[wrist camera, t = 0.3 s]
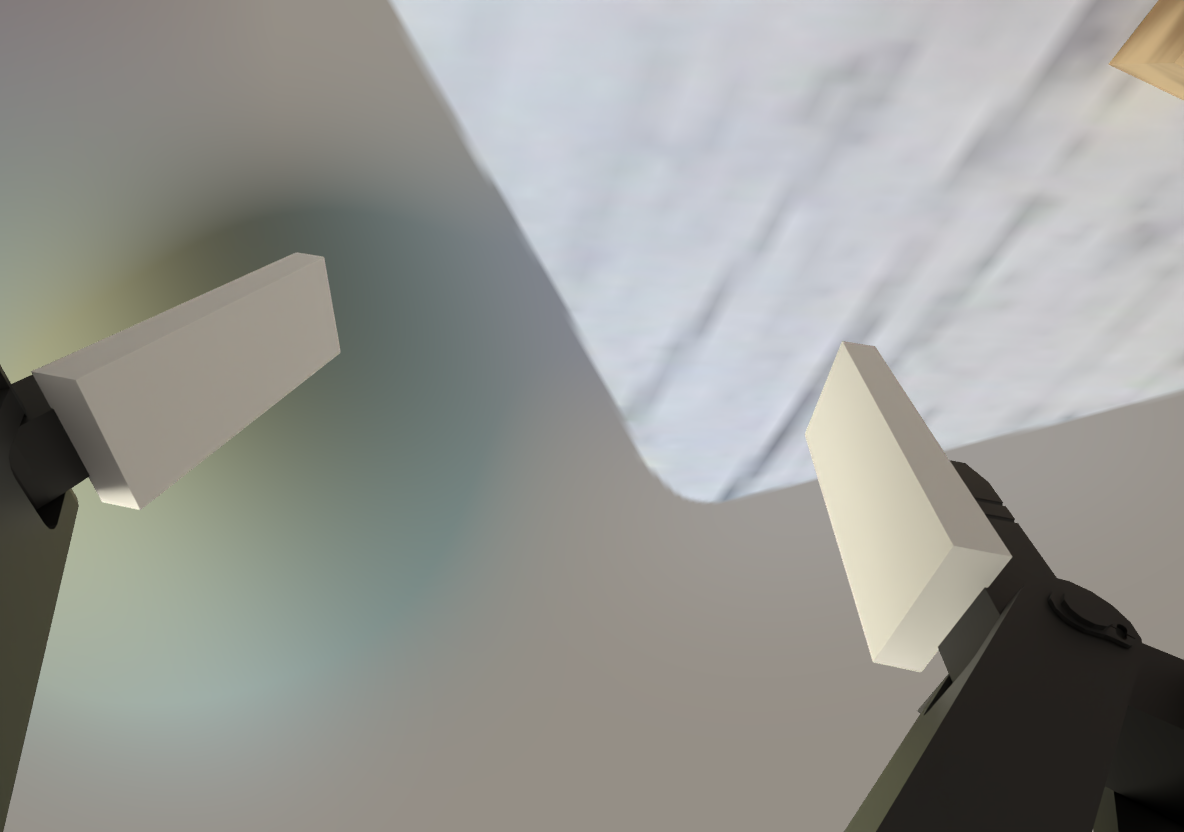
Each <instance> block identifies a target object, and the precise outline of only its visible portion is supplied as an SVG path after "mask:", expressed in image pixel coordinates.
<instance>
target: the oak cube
mask: <svg viewBox="0 0 1184 832" xmlns="http://www.w3.org/2000/svg"><path fill="white" fill-rule="evenodd" d="M1109 65H1111V66H1113V67H1115V68H1117V69H1119V70H1122V71H1124V72H1126V73H1128V74H1130V75H1132V76H1134V77H1136V78H1138V79H1140V80H1142V81H1144V82H1146V83H1149V84H1151V85H1153V86H1155V87H1157V88H1159V89H1161V90H1163V91H1165V92H1167V93H1169V94H1171V95H1173V96H1176V97H1178V98H1180V99H1182V100H1184V0H1159V1H1158V2H1157V3H1156V4H1155V6H1154V7H1153V8H1152V10H1151V11H1150V12H1149V13H1148V15H1147V16H1146V17H1145V18H1144V20H1143V21H1142V22H1141V24H1140V25H1139V26H1138V27H1137V29H1136V30H1135V31H1134V32H1133V34H1132V35H1131V36H1130V38H1129V39H1128V40H1127V41H1126V43H1125V44H1124V45H1123V46H1122V48H1121V49H1120V50H1119V52H1118V53H1117V54H1116V55H1115V57H1114V58H1113V59H1112V61H1111V62H1110V63H1109Z"/></svg>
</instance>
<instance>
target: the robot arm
mask: <svg viewBox="0 0 1184 832" xmlns="http://www.w3.org/2000/svg"><path fill="white" fill-rule="evenodd" d="M339 353H340V346H339V340H338V334H337V329H336V323H335V317H334V311H333V306H332V300H331V294H330V288H329V283H328V277H327V271H326V265H325V261H324V257H321V256H315V255H309V254H302V253H297V252H296V253H294V254H292V255H289V256H287V257H285V258H283V259H281V260H278V261H276V262H274V263H272V264H269V265H267V266H265V267H263V268H261V269H258V270H256V271H254V272H251V273H249V274H247V275H245V276H243V277H240V278H238V279H236V280H234V281H231V282H229V283H227V284H225V285H223V286H220V287H218V288H216V289H214V290H211V291H209V292H207V293H205V294H203V295H201V296H198V297H196V298H194V299H191V300H190V301H187V302H185V303H183V304H180V305H178V306H176V307H174V308H171V309H169V310H167V311H165V312H162V313H160V314H158V315H156V316H154V317H151V318H149V319H147V320H145V321H142V322H140V323H138V324H136V325H133V326H132V327H129V328H127V329H125V330H122V331H120V332H118V333H116V334H114V335H111V336H109V337H107V338H105V339H102V340H100V341H98V342H96V343H93V344H91V345H89V346H87V347H84V348H82V349H80V350H78V351H76V352H73V353H71V354H69V355H67V356H65V357H62V358H60V359H58V360H56V361H53V362H51V363H49V364H47V365H45V366H42V367H41V368H38V369H35V370H33V371H31V372H32V374H33V375H31V376H28V377H26V378H24V379H22V380H20V381H17V382H15V383H13V384H11V383H10V381H9V380H8V378H7V376H6V374H5V372H4V371H3V369H2V367H1V365H0V832H3V830H4V826H5V822H6V817H7V813H8V808H9V804H10V800H11V796H12V791H13V787H14V783H15V778H16V774H17V770H18V765H19V761H20V757H21V753H22V748H23V744H24V739H25V735H26V731H27V726H28V722H29V718H30V713H31V709H32V705H33V700H34V696H35V692H36V687H37V683H38V679H39V675H40V670H41V666H42V662H43V658H44V653H45V649H46V644H47V640H48V636H49V632H50V627H51V623H52V619H53V614H54V610H55V606H56V601H57V597H58V593H59V588H60V584H61V580H62V575H63V571H64V566H65V562H66V558H67V554H68V550H69V545H70V541H71V537H72V532H73V528H74V524H75V519H76V515H77V511H78V500H77V497H76V495H75V494H74V492H73V490H72V489H71V488H72V487H74V486H75V485H77V484H78V483H80V482H81V481H83V480H84V479H86V478H87V477H89V479H90V481H91V482H92V484H93V486H94V488H95V490H96V492H97V493H98V495H99V497H100V499H101V500H102V502H105V503H109V504H114V505H119V506H124V507H128V508H133V509H138V510H141V509H142V508H143V507H145V506H146V505H147V504H148V503H150V502H151V501H152V500H153V499H155V498H156V497H157V496H159V495H160V494H161V493H163V492H164V491H165V490H166V489H168V488H169V487H170V486H171V485H173V484H174V483H175V482H176V481H178V480H179V479H180V478H181V477H183V476H184V475H185V474H187V473H188V472H189V471H190V470H192V469H193V468H194V467H196V466H197V465H198V464H199V463H201V462H202V461H203V460H204V459H206V458H207V457H208V456H210V455H211V454H212V453H213V452H215V451H216V450H217V449H218V448H220V447H221V446H222V445H223V444H225V443H226V442H227V441H229V440H230V439H231V438H232V437H234V436H235V435H236V434H238V433H239V432H240V431H241V430H242V429H244V428H245V427H246V426H248V425H249V424H250V423H252V422H253V421H254V420H255V419H257V418H258V417H259V416H260V415H262V414H263V413H264V412H266V411H267V410H268V409H269V408H271V407H272V406H273V405H274V404H276V403H277V402H278V401H280V400H281V399H282V398H283V397H285V396H286V395H287V394H288V393H290V392H291V391H292V390H293V389H295V388H296V387H297V386H299V385H300V384H301V383H302V382H304V381H305V380H306V379H307V378H309V377H310V376H311V375H313V374H314V373H315V372H316V371H318V370H319V369H320V368H321V367H323V366H324V365H325V364H327V363H328V362H329V361H330V360H332V359H333V358H334V357H335V356H337V355H338V354H339ZM805 437H806V440H807V444H808V447H809V450H810V454H811V457H812V460H813V464H814V467H815V470H816V474H817V477H818V480H819V484H820V487H821V490H822V493H823V497H824V500H825V504H826V507H827V510H828V513H829V517H830V520H831V524H832V527H833V530H834V533H835V537H836V540H837V544H838V547H839V550H840V554H841V557H842V560H843V564H844V567H845V570H846V574H847V577H848V580H849V584H850V587H851V590H852V593H853V597H854V601H855V604H856V607H857V610H858V614H859V617H860V621H861V624H862V627H863V630H864V634H865V637H866V640H867V644H868V647H869V651H870V654H871V657H872V661H873V662H875V663H879V664H884V665H888V666H893V667H898V668H903V669H908V670H913V671H918V672H922V671H923V669H924V668H925V667H926V665H927V664H928V663H929V662H930V660H931V659H932V658H933V657H934V655H935V654H936V653H937V651H938V650H939V651H940V654H941V656H942V658H943V661H944V663H945V665H946V668H947V670H948V673H949V674H948V675H947V676H946V677H945V679H944V680H943V681H942V682H941V683H940V685H939V686H938V687H937V688H936V690H935V691H934V692H933V693H932V694H931V695H930V696H929V698H928V699H927V700H926V701H925V702H924V704H923V705H922V706H921V707H920V708H919V709H918V712H919V713H920V715H919V717H918V718H917V720H916V722H915V723H914V725H913V726H912V728H911V729H910V731H909V732H908V734H907V735H906V737H905V738H904V740H903V742H902V743H901V745H900V746H899V748H898V749H897V751H896V752H895V754H894V756H893V757H892V759H891V760H890V762H889V763H888V765H887V766H886V768H885V769H884V771H883V773H882V774H881V776H880V777H879V779H878V780H877V782H876V783H875V785H874V786H873V788H872V789H871V791H870V793H869V794H868V796H867V797H866V799H865V800H864V802H863V804H862V805H861V806H860V808H859V810H858V811H857V813H856V814H855V816H854V817H853V819H852V820H851V822H850V823H849V825H848V827H847V828H846V830H845V831H844V832H1092V830H1094V832H1184V660H1182V659H1180V658H1178V657H1175V656H1173V655H1170V654H1168V653H1165V652H1163V651H1160V650H1158V649H1155V648H1153V647H1151V646H1148V645H1145V644H1143V643H1142V640H1141V637H1140V636H1139V635H1138V633H1137V631H1136V630H1135V629H1134V627H1133V626H1132V624H1131V622H1130V621H1128V620H1127V619H1126V618H1125V617H1124V616H1123V615H1122V614H1121V613H1120V612H1119V611H1118V610H1117V609H1115V608H1114V607H1113V606H1112V605H1111V604H1109V603H1108V602H1106V601H1105V600H1103V599H1102V598H1100V597H1098V596H1097V595H1096V594H1094V593H1093V592H1091V591H1089V590H1087V589H1085V588H1082V587H1080V586H1078V585H1076V584H1074V583H1072V582H1070V581H1066V580H1062V579H1058V578H1056V576H1055V575H1054V573H1053V572H1052V571H1051V569H1050V568H1049V566H1048V565H1047V564H1046V562H1045V561H1044V559H1043V558H1042V557H1041V555H1040V554H1039V552H1038V551H1037V549H1036V548H1035V547H1034V545H1033V544H1032V542H1031V541H1030V540H1029V538H1028V537H1027V535H1026V534H1025V533H1024V531H1023V530H1022V528H1021V527H1020V526H1019V524H1018V523H1014V520H1015V519H1014V517H1013V516H1012V514H1011V513H1010V512H1009V510H1008V509H1007V508H1006V506H1002V503H1003V502H1002V500H1001V499H1000V498H999V496H998V495H997V493H996V492H995V491H994V489H993V488H992V486H991V485H990V484H989V482H988V481H986V480H985V479H984V478H983V477H981V476H980V475H979V474H978V473H977V472H975V471H974V470H973V469H972V468H970V467H969V466H968V465H967V464H966V463H961V462H956V461H950V460H949V459H948V457H947V456H946V454H945V453H944V451H943V450H942V448H941V447H940V445H939V443H938V442H937V440H936V439H935V437H934V436H933V434H932V433H931V431H930V430H929V428H928V427H927V425H926V424H925V422H924V421H923V419H922V417H921V416H920V414H919V413H918V411H917V410H916V408H915V407H914V405H913V404H912V402H911V401H910V399H909V398H908V396H907V394H906V393H905V391H904V390H903V388H902V387H901V385H900V384H899V382H898V381H897V379H896V378H895V376H894V375H893V373H892V371H891V370H890V368H889V367H888V365H887V364H886V362H885V361H884V359H883V358H882V356H881V355H880V353H879V352H878V350H877V348H876V347H875V346H870V345H863V344H857V343H851V342H845V341H842V343H841V346H840V348H839V351H838V353H837V356H836V358H835V360H834V363H833V365H832V368H831V370H830V373H829V375H828V378H827V380H826V383H825V385H824V388H823V390H822V393H821V395H820V398H819V400H818V403H817V405H816V408H815V410H814V413H813V415H812V418H811V420H810V423H809V425H808V428H807V430H806V433H805Z"/></svg>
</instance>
